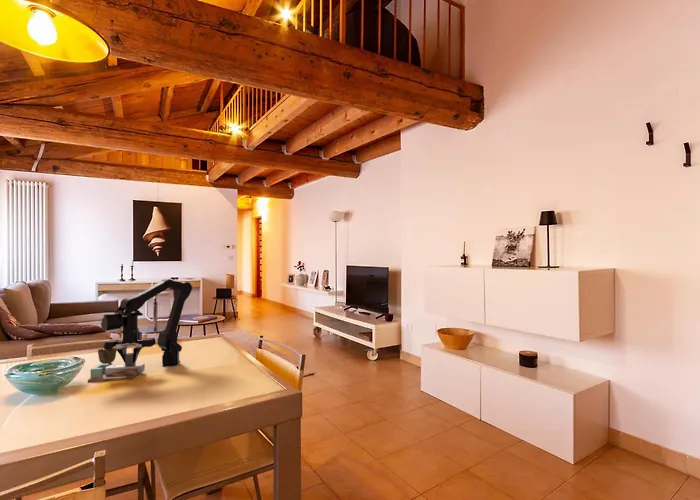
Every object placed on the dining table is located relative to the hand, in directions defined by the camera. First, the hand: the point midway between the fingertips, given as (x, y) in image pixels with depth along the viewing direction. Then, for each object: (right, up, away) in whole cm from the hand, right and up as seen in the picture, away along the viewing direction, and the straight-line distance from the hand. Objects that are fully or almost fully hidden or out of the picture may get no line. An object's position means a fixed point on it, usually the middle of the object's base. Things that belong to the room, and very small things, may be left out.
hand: (130, 363), depth 161 cm
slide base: (-5, -5, -1) cm, 7 cm away
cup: (-19, -6, +14) cm, 24 cm away
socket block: (-12, -5, -2) cm, 13 cm away
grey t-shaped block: (-2, -4, 0) cm, 4 cm away
